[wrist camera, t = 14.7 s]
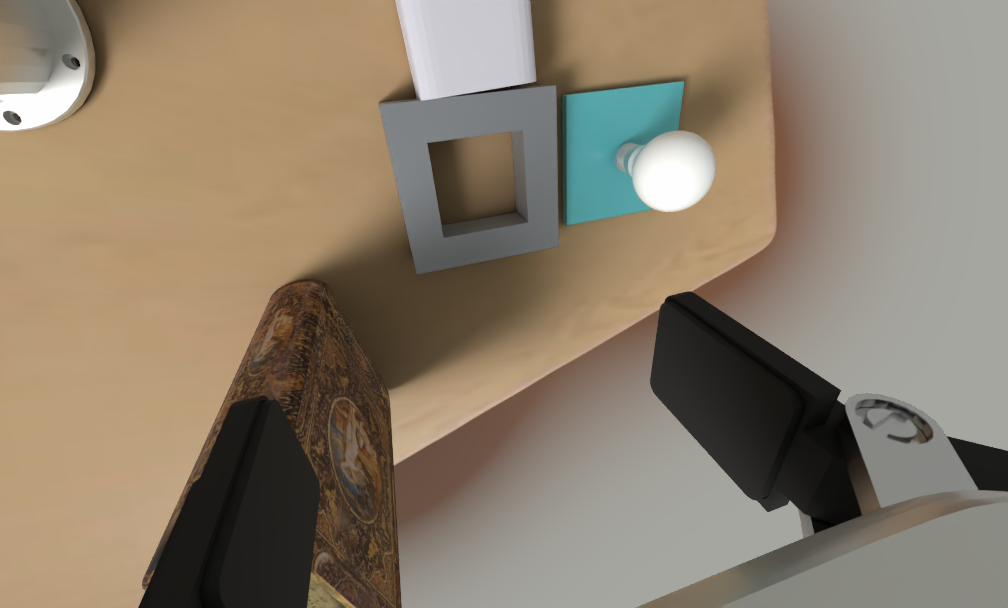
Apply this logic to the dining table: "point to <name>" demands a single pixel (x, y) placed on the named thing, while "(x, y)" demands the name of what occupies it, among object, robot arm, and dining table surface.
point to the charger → (467, 45)
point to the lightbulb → (669, 169)
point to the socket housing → (471, 116)
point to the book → (325, 442)
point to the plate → (610, 145)
